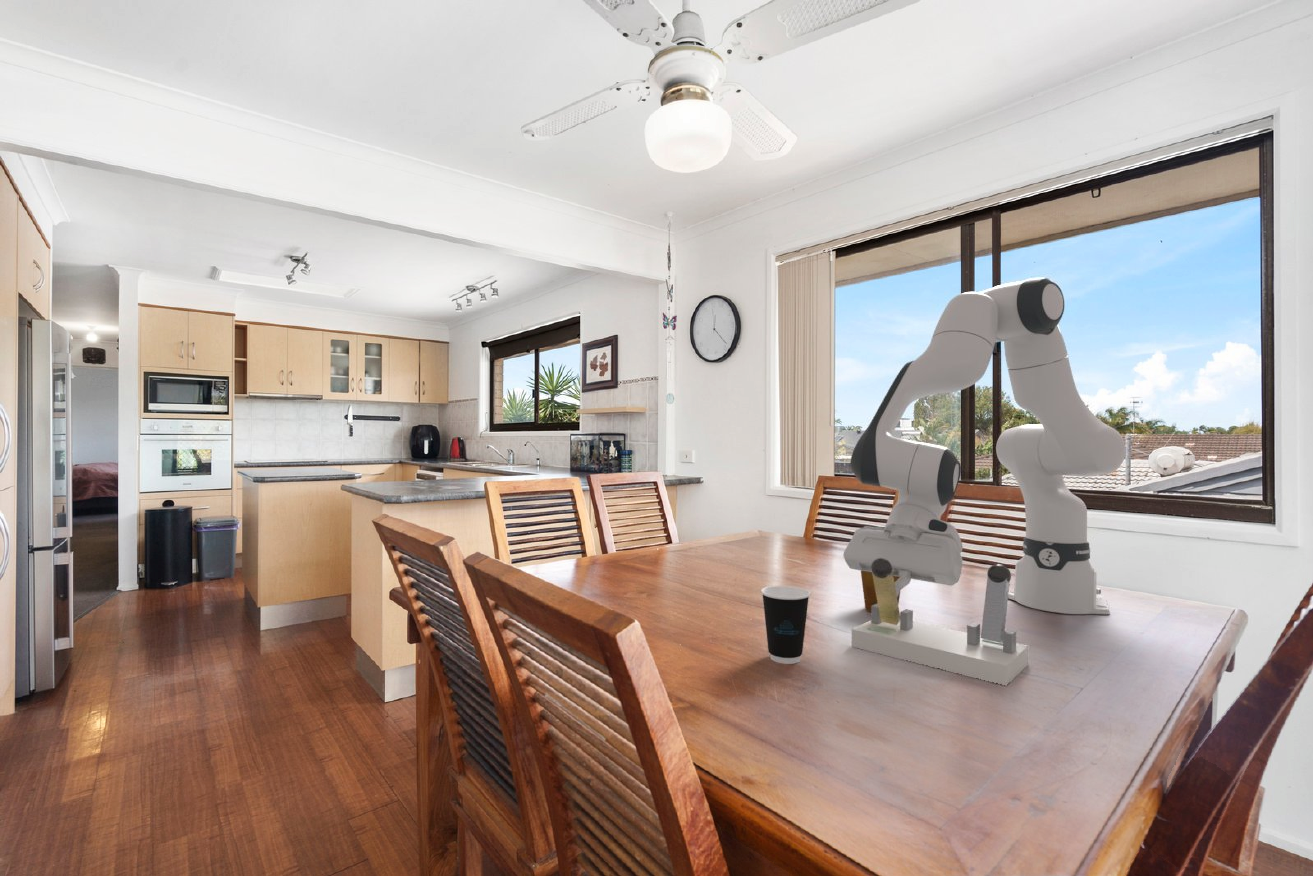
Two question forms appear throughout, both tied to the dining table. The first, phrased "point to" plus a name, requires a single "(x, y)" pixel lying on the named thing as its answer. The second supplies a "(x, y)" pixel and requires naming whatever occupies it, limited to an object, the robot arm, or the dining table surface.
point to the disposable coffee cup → (871, 589)
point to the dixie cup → (785, 621)
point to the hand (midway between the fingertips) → (887, 594)
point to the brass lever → (885, 591)
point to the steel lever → (996, 603)
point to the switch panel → (943, 647)
